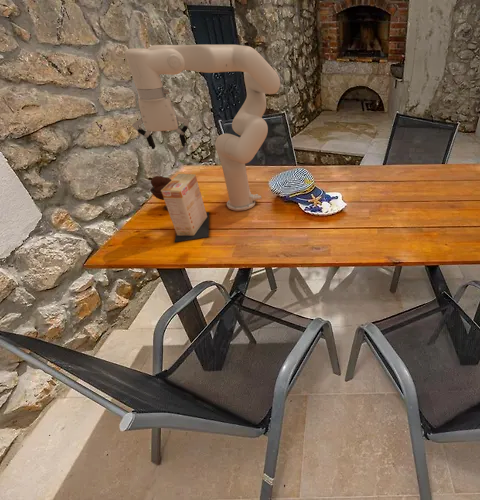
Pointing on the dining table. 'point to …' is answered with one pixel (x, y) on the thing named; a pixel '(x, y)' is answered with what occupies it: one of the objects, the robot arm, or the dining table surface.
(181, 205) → the coffeecake box
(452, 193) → the dining table surface
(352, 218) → the dining table surface
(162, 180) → the ice cream bowl
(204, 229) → the mat
